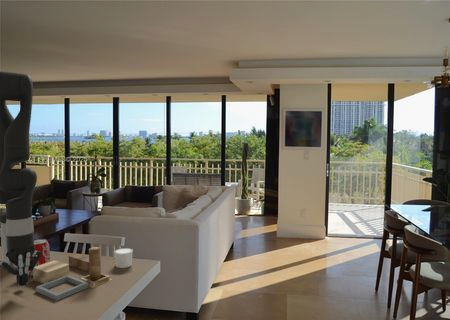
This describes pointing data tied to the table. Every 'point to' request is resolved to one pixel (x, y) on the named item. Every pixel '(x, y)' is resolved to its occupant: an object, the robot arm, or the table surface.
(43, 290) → the tray
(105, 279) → the socket plate
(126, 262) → the white cup
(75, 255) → the block
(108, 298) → the table surface
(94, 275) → the rounded wooden peg
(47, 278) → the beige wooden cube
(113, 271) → the table surface
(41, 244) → the soda can
